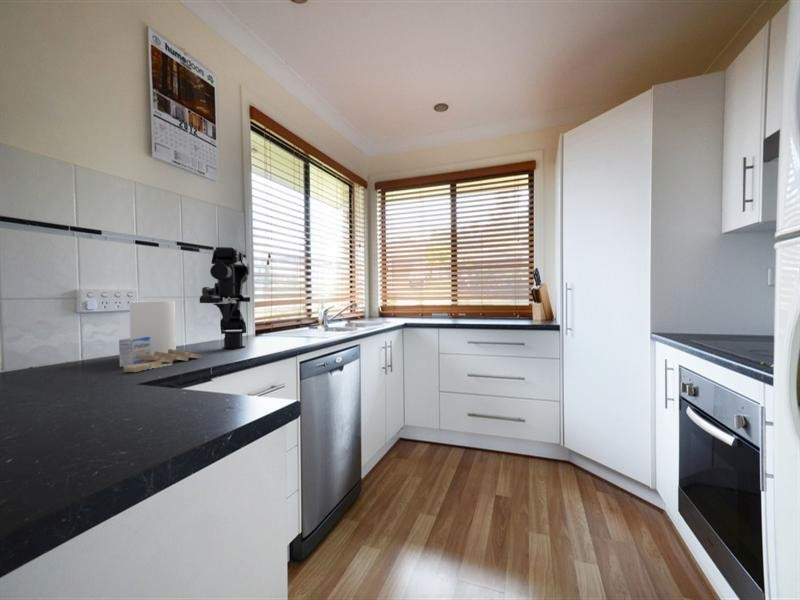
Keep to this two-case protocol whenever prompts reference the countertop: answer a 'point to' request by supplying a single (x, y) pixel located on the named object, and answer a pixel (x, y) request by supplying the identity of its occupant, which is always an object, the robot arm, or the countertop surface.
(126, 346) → the medicine box
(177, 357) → the tile
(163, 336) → the canister
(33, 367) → the countertop surface
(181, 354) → the tile
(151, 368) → the tile
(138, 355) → the tile
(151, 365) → the tile
